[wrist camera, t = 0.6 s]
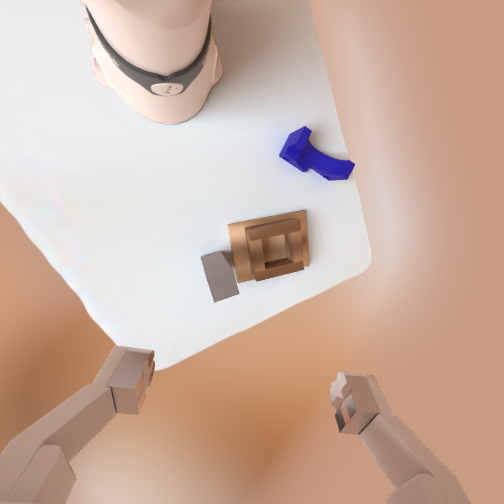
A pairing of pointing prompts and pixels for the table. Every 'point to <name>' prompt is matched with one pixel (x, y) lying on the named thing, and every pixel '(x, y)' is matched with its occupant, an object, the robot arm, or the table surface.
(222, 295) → the peg
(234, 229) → the socket board
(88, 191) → the table surface
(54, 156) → the table surface
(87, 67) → the table surface
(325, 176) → the blue cradle bracket
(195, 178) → the table surface
